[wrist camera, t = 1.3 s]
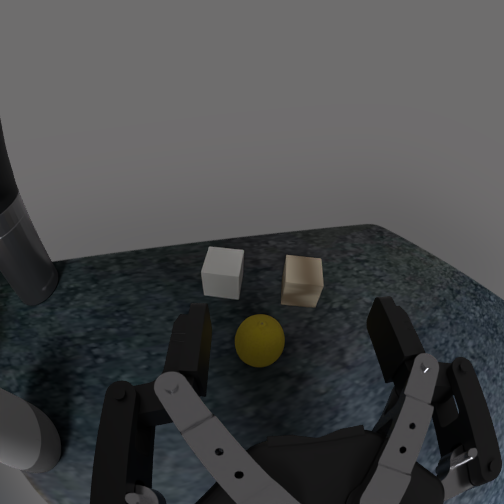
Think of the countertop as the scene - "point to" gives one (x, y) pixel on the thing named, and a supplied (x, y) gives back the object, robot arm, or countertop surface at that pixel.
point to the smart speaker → (27, 436)
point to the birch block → (301, 281)
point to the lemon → (259, 340)
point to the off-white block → (223, 272)
